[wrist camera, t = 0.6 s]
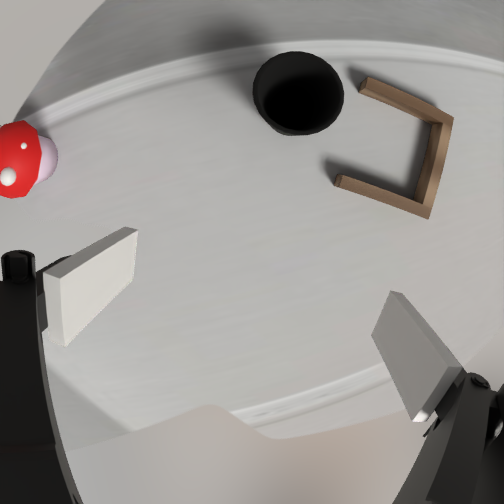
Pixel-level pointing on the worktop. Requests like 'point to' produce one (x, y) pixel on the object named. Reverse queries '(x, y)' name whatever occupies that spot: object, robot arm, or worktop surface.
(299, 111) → the cup
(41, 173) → the mushroom
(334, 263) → the worktop surface
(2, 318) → the robot arm
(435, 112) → the wooden u-shaped bracket
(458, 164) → the worktop surface
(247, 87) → the worktop surface
